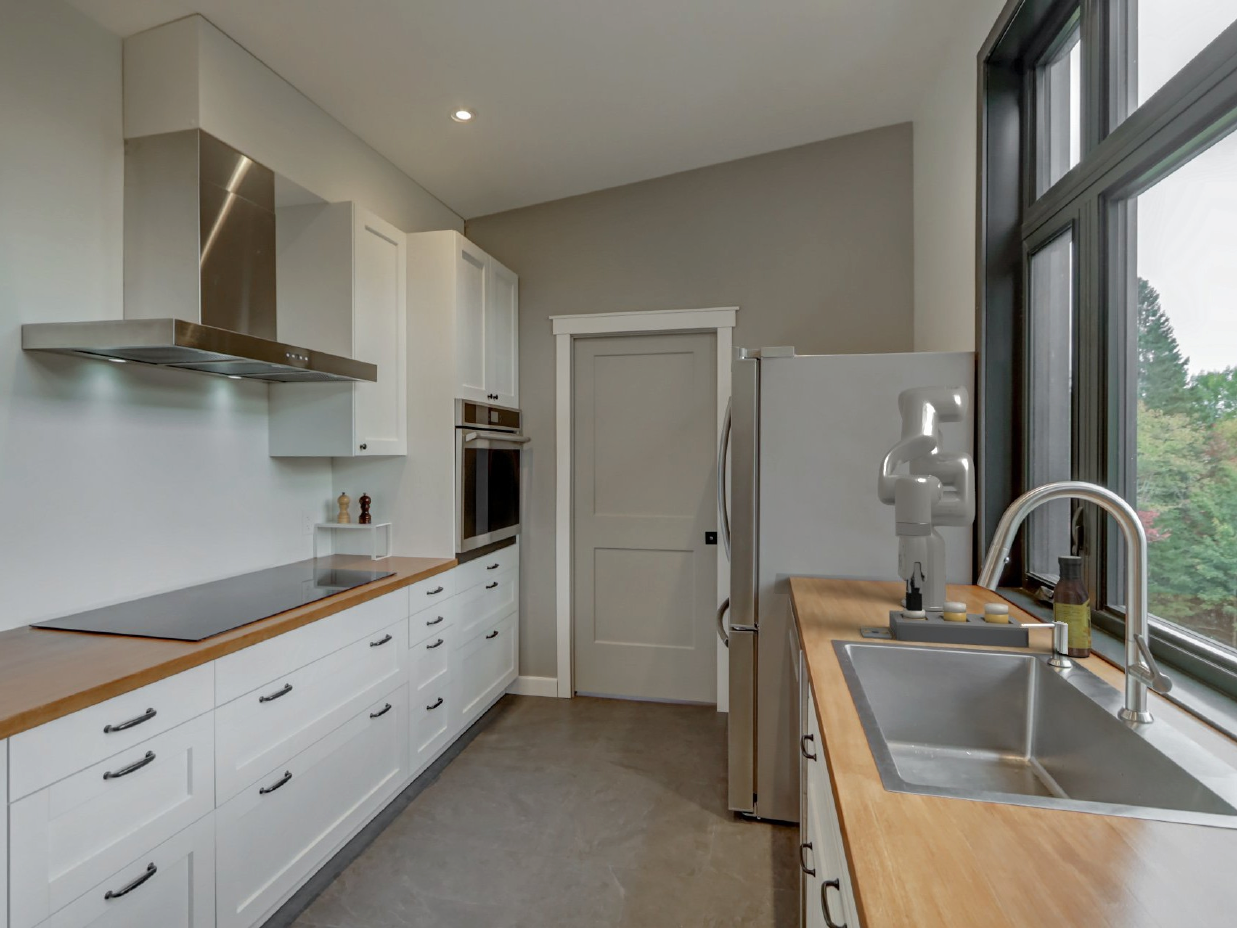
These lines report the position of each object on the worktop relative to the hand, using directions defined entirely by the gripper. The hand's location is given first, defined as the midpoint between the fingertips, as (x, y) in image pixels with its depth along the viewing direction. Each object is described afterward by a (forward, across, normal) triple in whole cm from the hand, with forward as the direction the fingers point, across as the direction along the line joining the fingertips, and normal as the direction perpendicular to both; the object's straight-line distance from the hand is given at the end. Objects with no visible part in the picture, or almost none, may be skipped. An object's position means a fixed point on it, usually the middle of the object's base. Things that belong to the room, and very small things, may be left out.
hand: (913, 609), depth 151 cm
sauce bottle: (+6, +9, +28) cm, 30 cm away
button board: (+6, 0, +8) cm, 10 cm away
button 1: (+5, 0, 0) cm, 5 cm away
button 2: (+4, 0, +17) cm, 17 cm away
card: (+6, +1, -8) cm, 10 cm away
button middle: (+4, 0, +8) cm, 9 cm away
